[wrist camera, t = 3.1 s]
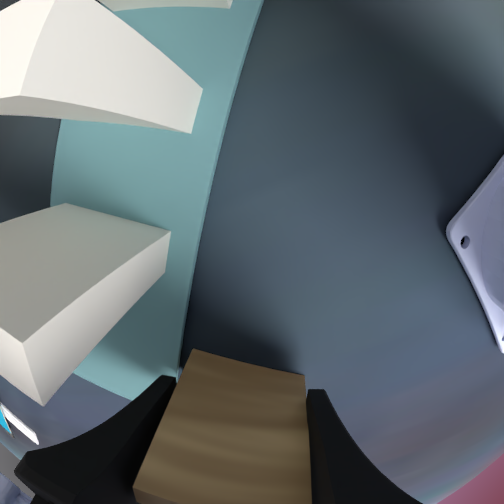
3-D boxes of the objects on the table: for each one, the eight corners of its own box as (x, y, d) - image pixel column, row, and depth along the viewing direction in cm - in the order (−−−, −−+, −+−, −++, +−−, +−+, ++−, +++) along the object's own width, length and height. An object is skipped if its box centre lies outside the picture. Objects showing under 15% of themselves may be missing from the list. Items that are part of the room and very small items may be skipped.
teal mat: (175, -99, 4) (173, -102, 4) (304, -99, 4) (304, -103, 4) (67, 363, 13) (63, 367, 13) (173, 409, 13) (171, 415, 13)
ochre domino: (192, 348, 12) (132, 487, 5) (304, 375, 12) (312, 522, 5) (188, 373, 12) (136, 501, 5) (292, 398, 12) (292, 533, 5)
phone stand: (47, 461, 22) (42, 468, 21) (-11, 411, 22) (-16, 417, 20) (28, 392, 16) (18, 403, 15) (-42, 319, 16) (-51, 326, 14)
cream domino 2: (65, 203, 10) (-77, 254, 3) (171, 230, 10) (22, 343, 3) (64, 239, 10) (-65, 308, 4) (165, 272, 10) (43, 406, 4)
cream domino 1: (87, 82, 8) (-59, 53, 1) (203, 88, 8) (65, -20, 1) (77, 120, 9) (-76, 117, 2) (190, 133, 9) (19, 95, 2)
